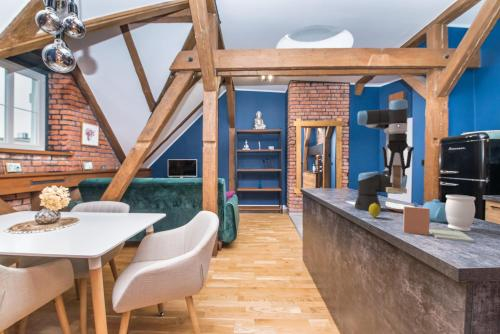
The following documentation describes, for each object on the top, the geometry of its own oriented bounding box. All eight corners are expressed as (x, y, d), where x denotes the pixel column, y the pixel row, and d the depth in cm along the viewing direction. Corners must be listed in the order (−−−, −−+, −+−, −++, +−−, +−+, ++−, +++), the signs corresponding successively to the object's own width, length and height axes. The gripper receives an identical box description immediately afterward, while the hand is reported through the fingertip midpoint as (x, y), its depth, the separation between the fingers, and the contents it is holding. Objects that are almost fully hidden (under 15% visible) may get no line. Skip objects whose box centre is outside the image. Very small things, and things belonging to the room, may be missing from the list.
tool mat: (426, 229, 113) (426, 227, 113) (459, 232, 108) (459, 230, 108) (436, 238, 100) (436, 236, 100) (474, 242, 95) (474, 240, 95)
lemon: (370, 218, 132) (371, 203, 131) (367, 216, 137) (367, 201, 137) (381, 219, 131) (382, 204, 131) (377, 216, 136) (378, 202, 136)
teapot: (440, 225, 121) (441, 202, 120) (411, 217, 135) (411, 198, 134) (461, 222, 126) (462, 201, 125) (430, 216, 140) (431, 196, 140)
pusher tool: (385, 191, 123) (386, 164, 123) (404, 192, 120) (405, 165, 120) (387, 192, 119) (387, 165, 118) (406, 193, 116) (407, 165, 115)
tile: (402, 231, 109) (403, 206, 109) (427, 233, 106) (428, 208, 105) (403, 232, 107) (404, 207, 107) (428, 235, 104) (429, 208, 104)
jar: (480, 233, 108) (481, 198, 107) (452, 231, 110) (454, 197, 109) (464, 226, 118) (465, 194, 117) (439, 225, 120) (440, 194, 120)
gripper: (379, 133, 118) (378, 182, 119) (419, 132, 112) (418, 184, 113) (377, 134, 125) (376, 181, 126) (415, 133, 119) (414, 182, 120)
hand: (396, 182), depth 119 cm, fingers closed on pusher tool, 3 cm apart
